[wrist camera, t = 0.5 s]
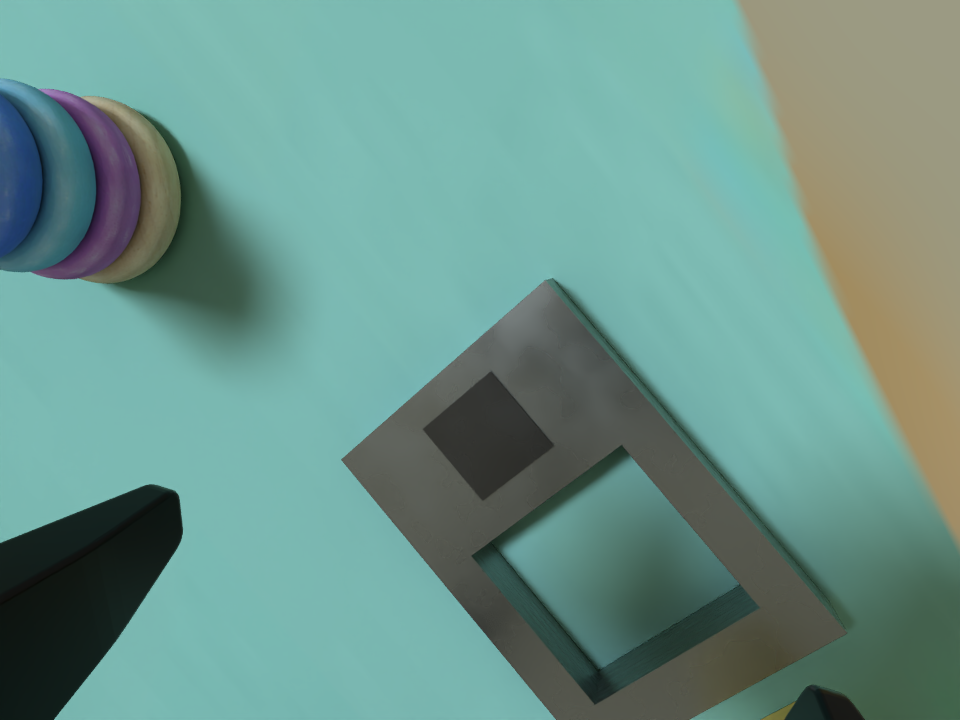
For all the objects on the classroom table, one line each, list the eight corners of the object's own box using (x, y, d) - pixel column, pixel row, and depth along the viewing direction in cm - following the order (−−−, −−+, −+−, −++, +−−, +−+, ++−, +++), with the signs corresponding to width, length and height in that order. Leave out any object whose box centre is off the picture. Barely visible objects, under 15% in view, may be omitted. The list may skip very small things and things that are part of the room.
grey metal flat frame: (600, 731, 26) (597, 771, 24) (362, 445, 26) (340, 460, 24) (829, 601, 23) (848, 635, 21) (552, 278, 23) (544, 280, 21)
